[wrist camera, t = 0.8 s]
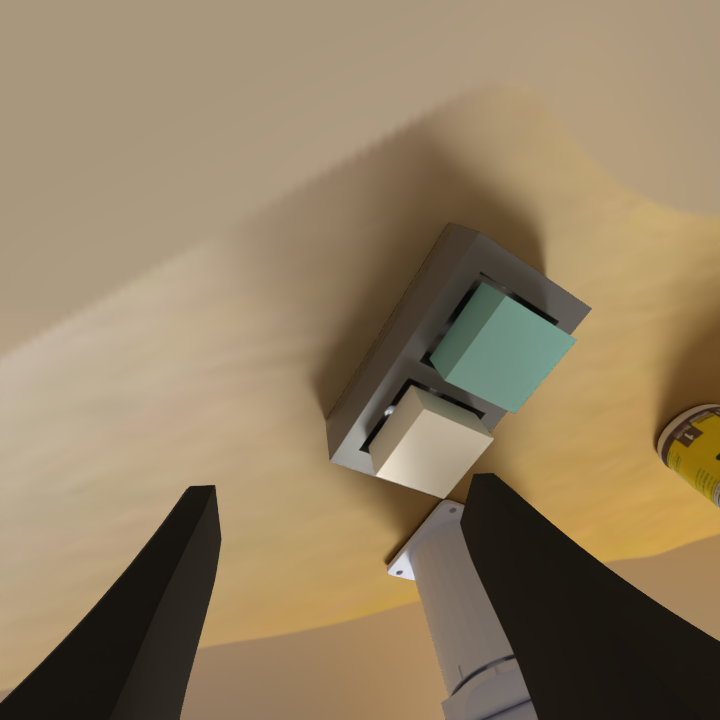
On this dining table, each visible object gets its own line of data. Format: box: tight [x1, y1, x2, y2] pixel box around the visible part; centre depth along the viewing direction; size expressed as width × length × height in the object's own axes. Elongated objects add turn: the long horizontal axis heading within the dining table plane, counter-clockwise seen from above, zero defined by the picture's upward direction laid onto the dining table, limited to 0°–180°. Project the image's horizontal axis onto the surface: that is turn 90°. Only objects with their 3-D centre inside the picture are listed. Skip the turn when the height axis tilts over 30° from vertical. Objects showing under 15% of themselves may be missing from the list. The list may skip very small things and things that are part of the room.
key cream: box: [368, 385, 494, 499], centre depth 18 cm, size 4×4×2 cm
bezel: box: [327, 225, 592, 497], centre depth 19 cm, size 7×12×2 cm, turn 150°
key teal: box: [429, 282, 577, 414], centre depth 16 cm, size 4×4×2 cm
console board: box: [326, 223, 530, 432], centre depth 20 cm, size 7×12×1 cm, turn 150°
